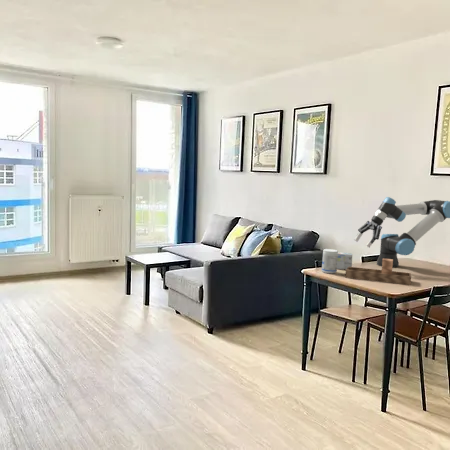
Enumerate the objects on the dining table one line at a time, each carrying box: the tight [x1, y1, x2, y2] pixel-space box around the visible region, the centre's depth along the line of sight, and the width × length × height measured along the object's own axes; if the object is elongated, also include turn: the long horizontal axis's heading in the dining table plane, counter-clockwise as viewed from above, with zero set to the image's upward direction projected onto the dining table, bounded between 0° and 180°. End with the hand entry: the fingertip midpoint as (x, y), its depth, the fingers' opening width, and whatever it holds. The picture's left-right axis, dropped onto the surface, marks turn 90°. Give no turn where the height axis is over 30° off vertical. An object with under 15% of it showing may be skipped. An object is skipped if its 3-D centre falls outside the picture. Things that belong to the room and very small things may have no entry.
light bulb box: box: [337, 252, 353, 271], centre depth 327 cm, size 11×7×11 cm, turn 84°
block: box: [381, 258, 393, 274], centre depth 295 cm, size 6×6×10 cm
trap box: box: [345, 266, 412, 286], centre depth 297 cm, size 38×12×5 cm, turn 70°
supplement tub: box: [321, 248, 339, 275], centre depth 312 cm, size 10×10×15 cm
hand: (361, 243), depth 326 cm, fingers open, 13 cm apart
